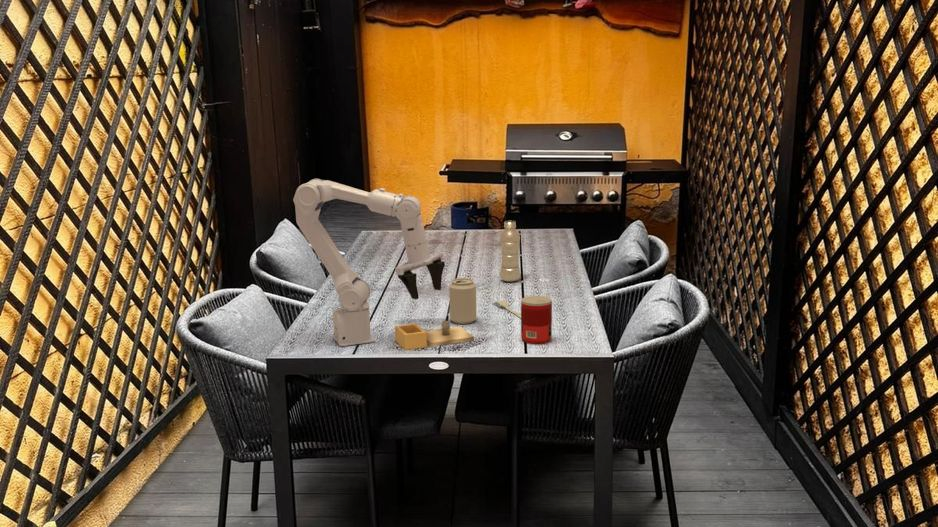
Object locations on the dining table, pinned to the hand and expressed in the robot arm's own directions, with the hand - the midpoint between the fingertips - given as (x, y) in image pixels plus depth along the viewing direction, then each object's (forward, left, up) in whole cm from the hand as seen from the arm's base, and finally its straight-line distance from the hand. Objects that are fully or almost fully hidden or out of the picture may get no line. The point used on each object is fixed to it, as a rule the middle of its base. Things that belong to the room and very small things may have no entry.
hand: (426, 294), depth 228 cm
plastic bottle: (+46, +48, -13) cm, 68 cm away
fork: (+31, +16, -14) cm, 38 cm away
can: (+15, +13, -13) cm, 24 cm away
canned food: (+26, -11, -13) cm, 31 cm away
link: (-5, 0, -13) cm, 14 cm away
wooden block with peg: (+5, +1, -13) cm, 14 cm away
